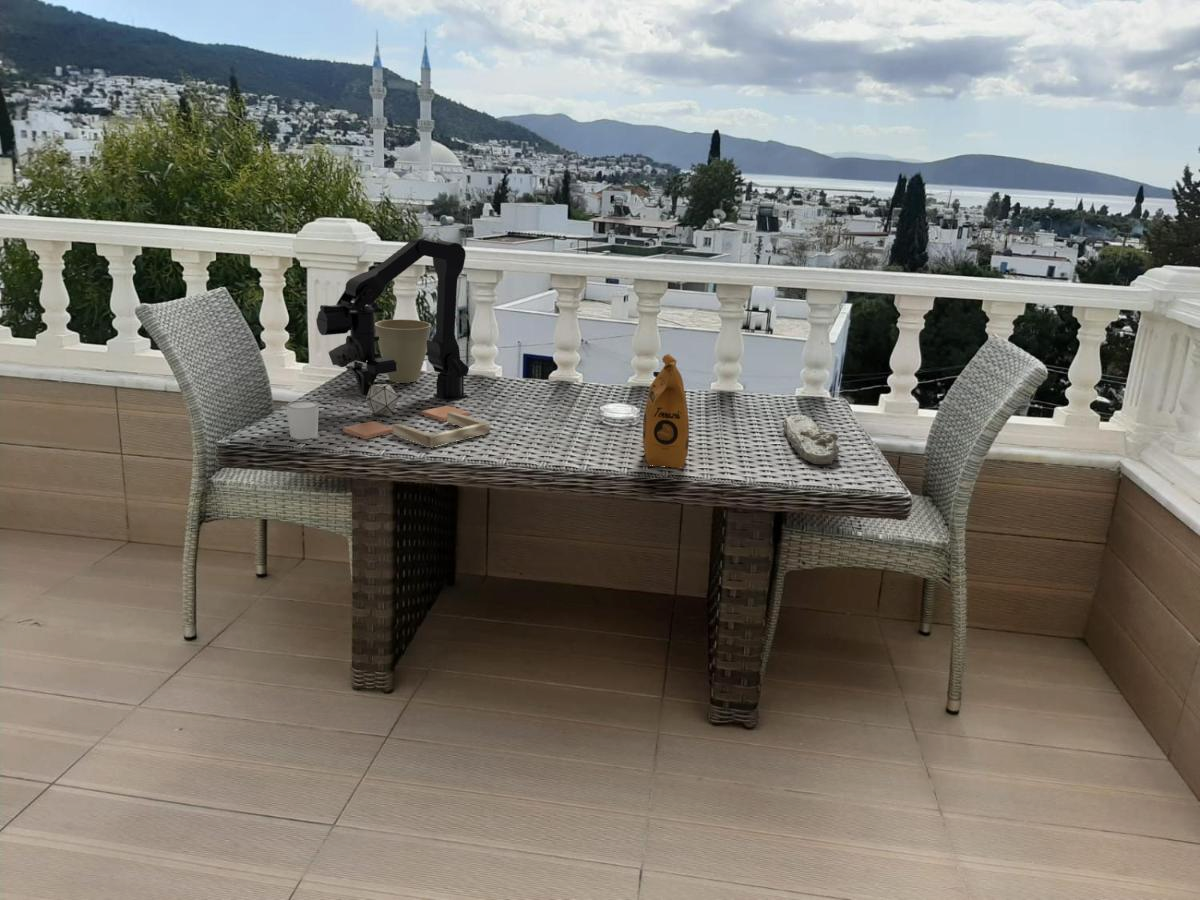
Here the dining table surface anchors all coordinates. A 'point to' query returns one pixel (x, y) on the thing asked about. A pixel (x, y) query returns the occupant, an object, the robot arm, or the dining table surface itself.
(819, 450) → the elongated rock
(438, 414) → the tile
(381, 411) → the game die
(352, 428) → the tile
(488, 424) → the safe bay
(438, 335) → the robot arm
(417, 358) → the plant pot
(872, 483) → the dining table surface
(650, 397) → the coffee package
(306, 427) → the shot glass
